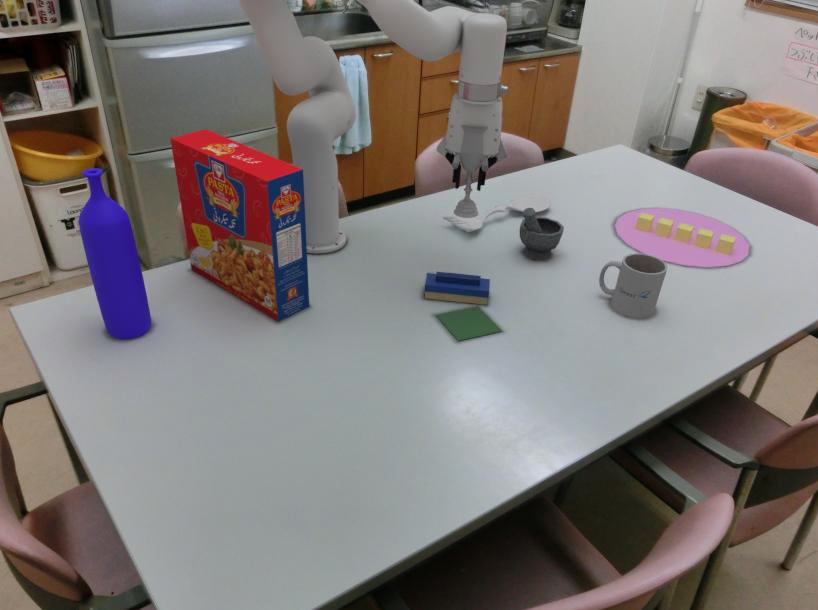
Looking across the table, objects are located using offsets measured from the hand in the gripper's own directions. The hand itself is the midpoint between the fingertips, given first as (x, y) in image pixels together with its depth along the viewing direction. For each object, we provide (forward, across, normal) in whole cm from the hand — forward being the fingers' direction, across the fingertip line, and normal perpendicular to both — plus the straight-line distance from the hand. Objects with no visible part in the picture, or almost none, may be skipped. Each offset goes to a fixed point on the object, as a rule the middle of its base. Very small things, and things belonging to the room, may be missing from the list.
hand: (468, 186), depth 136 cm
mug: (+21, -35, +4) cm, 41 cm away
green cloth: (+20, -3, +18) cm, 27 cm away
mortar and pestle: (+21, -17, -14) cm, 30 cm away
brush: (+20, 0, +8) cm, 22 cm away
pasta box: (+21, +42, +13) cm, 49 cm away
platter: (+21, -53, -32) cm, 65 cm away
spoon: (+21, -9, -32) cm, 39 cm away
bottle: (+21, +59, +32) cm, 70 cm away
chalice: (+6, 0, 0) cm, 6 cm away
